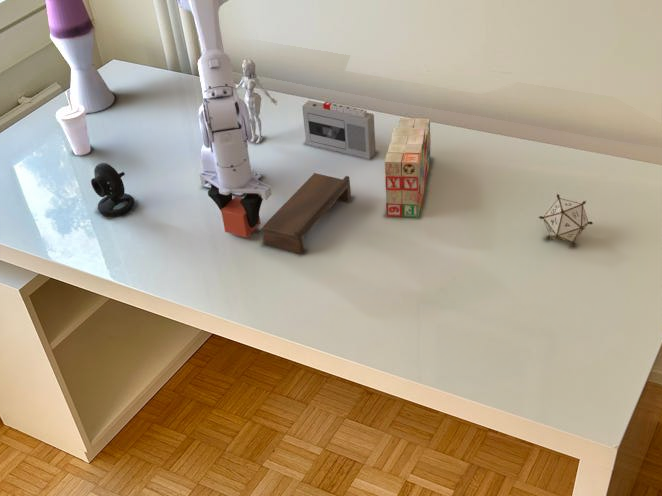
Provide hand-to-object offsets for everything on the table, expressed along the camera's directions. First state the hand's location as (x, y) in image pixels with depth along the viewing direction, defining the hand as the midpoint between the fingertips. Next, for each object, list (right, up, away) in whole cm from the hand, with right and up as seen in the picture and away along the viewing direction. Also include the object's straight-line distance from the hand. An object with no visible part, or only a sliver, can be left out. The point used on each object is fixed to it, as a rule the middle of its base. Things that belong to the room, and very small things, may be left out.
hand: (241, 221), depth 167 cm
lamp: (-40, +36, +46) cm, 71 cm away
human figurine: (+1, +22, +27) cm, 35 cm away
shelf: (+13, +1, +2) cm, 13 cm away
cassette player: (+19, +19, +21) cm, 34 cm away
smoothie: (-38, +20, +29) cm, 52 cm away
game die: (+59, -5, -8) cm, 60 cm away
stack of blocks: (+33, +8, +8) cm, 35 cm away
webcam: (-26, +5, +11) cm, 29 cm away
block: (0, -1, +1) cm, 1 cm away
